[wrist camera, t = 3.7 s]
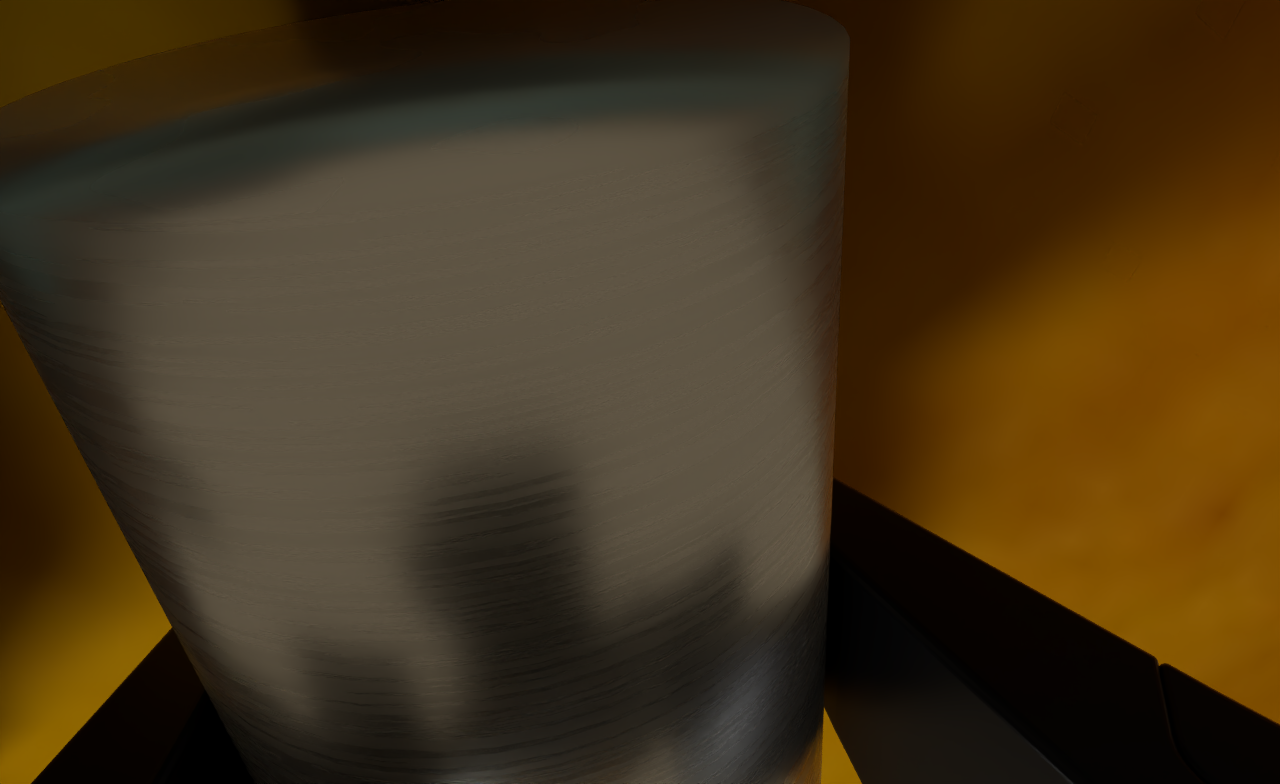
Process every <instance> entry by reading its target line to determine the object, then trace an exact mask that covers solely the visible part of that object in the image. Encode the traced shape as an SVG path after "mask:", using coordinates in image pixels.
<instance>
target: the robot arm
mask: <svg viewBox="0 0 1280 784" xmlns="http://www.w3.org/2000/svg"><path fill="white" fill-rule="evenodd" d="M824 708H825V710H826V712H827V714H828V716H829V718H830V721H831V723H832V725H833V727H834V729H835V731H836V733H837V735H838V737H839V739H840V741H841V743H842V745H843V747H844V749H845V751H846V753H847V755H848V757H849V759H850V761H851V763H852V765H853V767H854V769H855V770H856V772H857V774H858V776H859V778H860V780H861V782H862V784H1280V724H1278V723H1276V722H1274V721H1272V720H1270V719H1268V718H1267V717H1265V716H1263V715H1261V714H1259V713H1257V712H1255V711H1253V710H1252V709H1250V708H1248V707H1246V706H1244V705H1242V704H1240V703H1238V702H1237V701H1235V700H1233V699H1231V698H1229V697H1227V696H1225V695H1223V694H1222V693H1220V692H1218V691H1216V690H1214V689H1212V688H1211V687H1209V686H1207V685H1205V684H1203V683H1202V682H1200V681H1198V680H1196V679H1194V678H1193V677H1191V676H1189V675H1187V674H1186V673H1184V672H1182V671H1180V670H1178V669H1177V668H1175V667H1173V666H1171V665H1169V664H1166V663H1164V664H1161V665H1160V666H1159V664H1158V661H1157V659H1156V658H1155V657H1154V656H1153V655H1151V654H1149V653H1147V652H1145V651H1144V650H1142V649H1140V648H1138V647H1136V646H1135V645H1133V644H1131V643H1129V642H1127V641H1126V640H1124V639H1122V638H1120V637H1119V636H1117V635H1115V634H1113V633H1111V632H1110V631H1108V630H1106V629H1104V628H1102V627H1101V626H1099V625H1097V624H1095V623H1093V622H1092V621H1090V620H1088V619H1086V618H1084V617H1083V616H1081V615H1079V614H1077V613H1075V612H1074V611H1072V610H1070V609H1068V608H1067V607H1065V606H1063V605H1061V604H1059V603H1058V602H1056V601H1054V600H1052V599H1050V598H1049V597H1047V596H1045V595H1043V594H1041V593H1040V592H1038V591H1036V590H1034V589H1032V588H1031V587H1029V586H1027V585H1025V584H1024V583H1022V582H1020V581H1018V580H1016V579H1015V578H1013V577H1011V576H1009V575H1007V574H1006V573H1004V572H1002V571H1000V570H998V569H997V568H995V567H993V566H991V565H989V564H988V563H986V562H984V561H982V560H981V559H979V558H977V557H975V556H973V555H972V554H970V553H968V552H966V551H964V550H963V549H961V548H959V547H957V546H955V545H954V544H952V543H950V542H948V541H946V540H945V539H943V538H941V537H939V536H937V535H936V534H934V533H932V532H930V531H929V530H927V529H925V528H923V527H921V526H920V525H918V524H916V523H914V522H912V521H911V520H909V519H907V518H905V517H903V516H902V515H900V514H898V513H896V512H894V511H893V510H891V509H889V508H887V507H886V506H884V505H882V504H880V503H878V502H877V501H875V500H873V499H871V498H869V497H868V496H866V495H864V494H862V493H860V492H859V491H857V490H855V489H853V488H851V487H850V486H848V485H846V484H844V483H843V482H841V481H839V480H837V479H835V478H834V477H833V487H832V512H831V537H830V562H829V588H828V613H827V638H826V663H825V689H824ZM31 784H255V783H254V781H253V780H252V778H251V776H250V774H249V772H248V770H247V768H246V766H245V764H244V762H243V761H242V759H241V757H240V755H239V753H238V751H237V749H236V747H235V745H234V743H233V742H232V740H231V738H230V736H229V734H228V732H227V730H226V728H225V726H224V724H223V723H222V721H221V719H220V717H219V715H218V713H217V711H216V709H215V707H214V705H213V704H212V702H211V700H210V698H209V696H208V694H207V692H206V690H205V688H204V686H203V685H202V683H201V681H200V679H199V677H198V675H197V673H196V671H195V669H194V667H193V665H192V664H191V662H190V660H189V658H188V656H187V654H186V652H185V650H184V648H183V646H182V645H181V643H180V641H179V639H178V637H177V635H176V633H175V631H174V629H173V627H172V628H171V629H170V630H169V631H168V633H167V634H166V635H165V636H164V637H163V638H162V639H161V640H160V641H159V643H158V644H157V645H156V646H155V647H154V648H153V649H152V650H151V651H150V653H149V654H148V655H147V656H146V657H145V658H144V659H143V660H142V661H141V662H140V664H139V665H138V666H137V667H136V668H135V669H134V670H133V671H132V672H131V674H130V675H129V676H128V677H127V678H126V679H125V680H124V681H123V682H122V684H121V685H120V686H119V687H118V688H117V689H116V690H115V691H114V692H113V693H112V695H111V696H110V697H109V698H108V699H107V700H106V701H105V702H104V703H103V705H102V706H101V707H100V708H99V709H98V710H97V711H96V712H95V713H94V714H93V716H92V717H91V718H90V719H89V720H88V721H87V722H86V723H85V724H84V726H83V727H82V728H81V729H80V730H79V731H78V732H77V733H76V734H75V736H74V737H73V738H72V739H71V740H70V741H69V742H68V743H67V744H66V745H65V747H64V748H63V749H62V750H61V751H60V752H59V753H58V754H57V755H56V757H55V758H54V759H53V760H52V761H51V762H50V763H49V764H48V765H47V766H46V768H45V769H44V770H43V771H42V772H41V773H40V774H39V775H38V776H37V778H36V779H35V780H34V781H33V782H32V783H31Z"/></svg>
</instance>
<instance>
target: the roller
mask: <svg viewBox="0 0 1280 784" xmlns="http://www.w3.org/2000/svg"><path fill="white" fill-rule="evenodd" d="M849 57H850V37H849V35H848V33H847V31H846V29H845V27H844V26H842V25H841V24H840V23H839V22H837V21H836V20H835V19H834V18H832V17H830V16H828V15H826V14H824V13H822V12H819V11H817V10H815V9H812V8H809V7H806V6H802V5H799V4H795V3H792V2H787V1H782V0H449V1H440V2H432V3H423V4H415V5H407V6H400V7H393V8H385V9H378V10H371V11H365V12H358V13H352V14H345V15H339V16H332V17H327V18H321V19H315V20H309V21H304V22H298V23H292V24H287V25H282V26H277V27H272V28H267V29H261V30H256V31H251V32H247V33H242V34H238V35H233V36H228V37H224V38H219V39H214V40H210V41H206V42H202V43H198V44H193V45H189V46H185V47H181V48H177V49H173V50H169V51H165V52H161V53H158V54H154V55H150V56H146V57H143V58H139V59H135V60H132V61H128V62H125V63H122V64H118V65H115V66H112V67H108V68H105V69H102V70H98V71H95V72H92V73H89V74H86V75H83V76H80V77H77V78H74V79H71V80H68V81H65V82H62V83H60V84H57V85H54V86H52V87H49V88H47V89H44V90H41V91H39V92H36V93H34V94H31V95H28V96H26V97H24V98H22V99H19V100H17V101H15V102H13V103H11V104H8V105H6V106H4V107H2V108H0V300H1V302H2V304H3V306H4V308H5V310H6V312H7V314H8V316H9V318H10V319H11V321H12V323H13V325H14V327H15V329H16V331H17V333H18V335H19V337H20V339H21V340H22V342H23V344H24V346H25V348H26V350H27V352H28V354H29V356H30V358H31V359H32V361H33V363H34V365H35V367H36V369H37V371H38V373H39V375H40V377H41V378H42V380H43V382H44V384H45V386H46V388H47V390H48V392H49V394H50V396H51V397H52V399H53V401H54V403H55V405H56V407H57V409H58V411H59V413H60V415H61V416H62V418H63V420H64V422H65V424H66V426H67V428H68V430H69V432H70V434H71V435H72V437H73V439H74V441H75V443H76V445H77V447H78V449H79V451H80V453H81V454H82V456H83V458H84V460H85V462H86V464H87V466H88V468H89V470H90V472H91V473H92V475H93V477H94V479H95V481H96V483H97V485H98V487H99V489H100V491H101V492H102V494H103V496H104V498H105V500H106V502H107V504H108V506H109V508H110V510H111V512H112V513H113V515H114V517H115V519H116V521H117V523H118V525H119V527H120V529H121V531H122V532H123V534H124V536H125V538H126V540H127V542H128V544H129V546H130V548H131V550H132V551H133V553H134V555H135V557H136V559H137V561H138V563H139V565H140V567H141V569H142V570H143V572H144V574H145V576H146V578H147V580H148V582H149V584H150V586H151V588H152V589H153V591H154V593H155V595H156V597H157V599H158V601H159V603H160V605H161V607H162V608H163V610H164V612H165V614H166V616H167V618H168V620H169V622H170V624H171V626H172V627H173V629H174V631H175V633H176V635H177V637H178V639H179V641H180V643H181V645H182V646H183V648H184V650H185V652H186V654H187V656H188V658H189V660H190V662H191V664H192V665H193V667H194V669H195V671H196V673H197V675H198V677H199V679H200V681H201V683H202V685H203V686H204V688H205V690H206V692H207V694H208V696H209V698H210V700H211V702H212V704H213V705H214V707H215V709H216V711H217V713H218V715H219V717H220V719H221V721H222V723H223V724H224V726H225V728H226V730H227V732H228V734H229V736H230V738H231V740H232V742H233V743H234V745H235V747H236V749H237V751H238V753H239V755H240V757H241V759H242V761H243V762H244V764H245V766H246V768H247V770H248V772H249V774H250V776H251V778H252V780H253V781H254V783H255V784H821V764H822V739H823V714H824V689H825V663H826V638H827V613H828V588H829V562H830V537H831V512H832V487H833V461H834V436H835V411H836V385H837V360H838V335H839V310H840V284H841V259H842V234H843V209H844V183H845V158H846V133H847V108H848V82H849Z"/></svg>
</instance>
